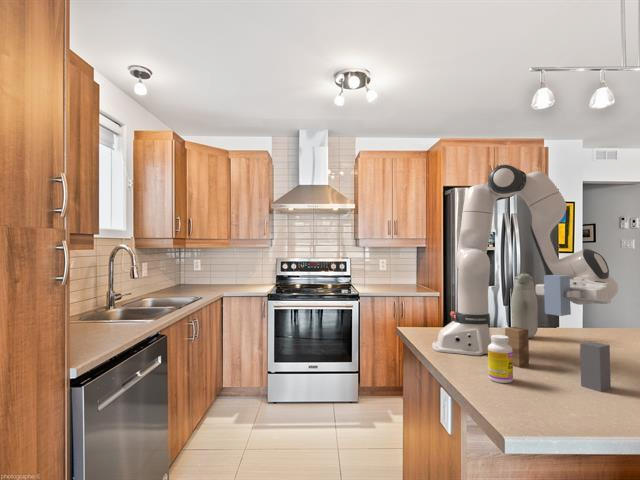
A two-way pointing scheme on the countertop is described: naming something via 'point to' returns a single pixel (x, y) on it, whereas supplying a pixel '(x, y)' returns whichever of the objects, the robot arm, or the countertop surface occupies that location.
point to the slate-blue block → (556, 295)
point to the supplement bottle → (500, 359)
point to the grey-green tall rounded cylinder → (524, 304)
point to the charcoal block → (595, 366)
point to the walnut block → (519, 345)
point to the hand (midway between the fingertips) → (555, 293)
